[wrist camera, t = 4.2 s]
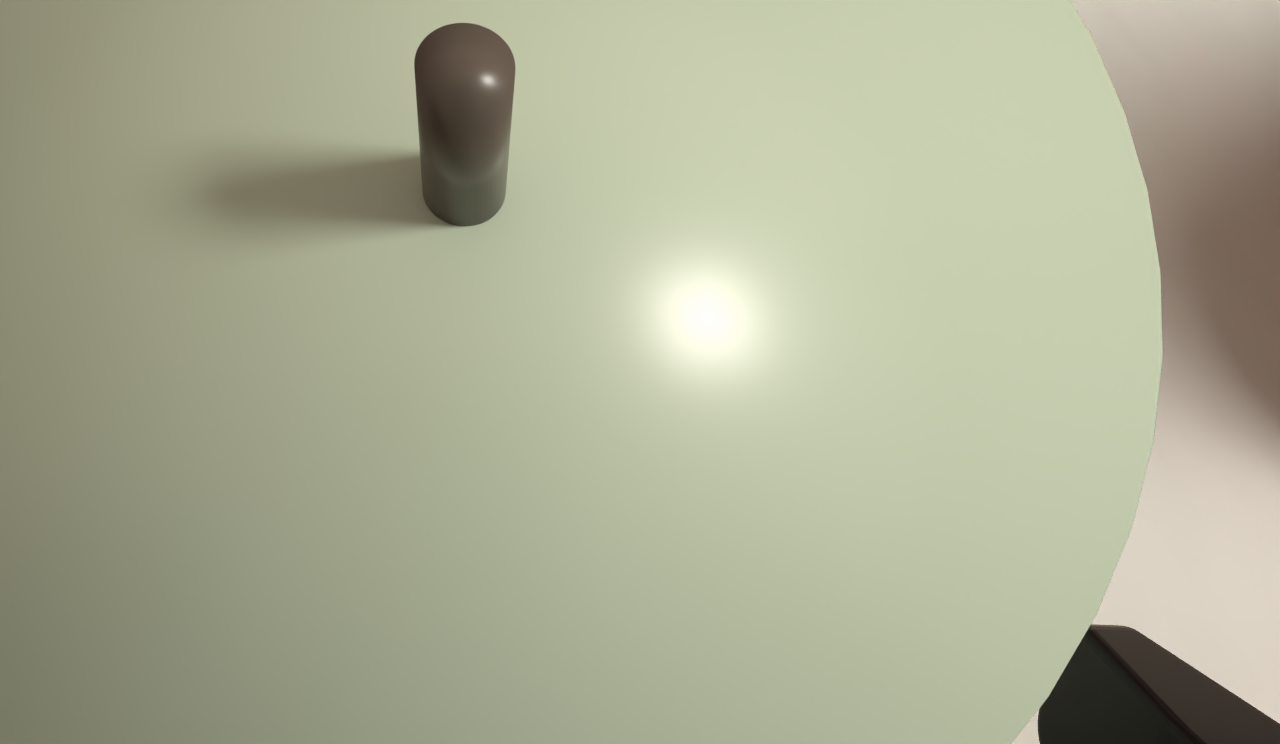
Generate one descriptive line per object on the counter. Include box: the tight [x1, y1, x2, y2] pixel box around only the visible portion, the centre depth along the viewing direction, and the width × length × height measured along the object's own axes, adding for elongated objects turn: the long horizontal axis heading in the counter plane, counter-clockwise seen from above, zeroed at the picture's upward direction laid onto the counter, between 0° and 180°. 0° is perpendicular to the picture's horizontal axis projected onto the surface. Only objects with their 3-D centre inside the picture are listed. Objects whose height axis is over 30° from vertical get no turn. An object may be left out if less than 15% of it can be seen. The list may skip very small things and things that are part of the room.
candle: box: [0, 0, 1163, 744], centre depth 10 cm, size 5×5×14 cm
